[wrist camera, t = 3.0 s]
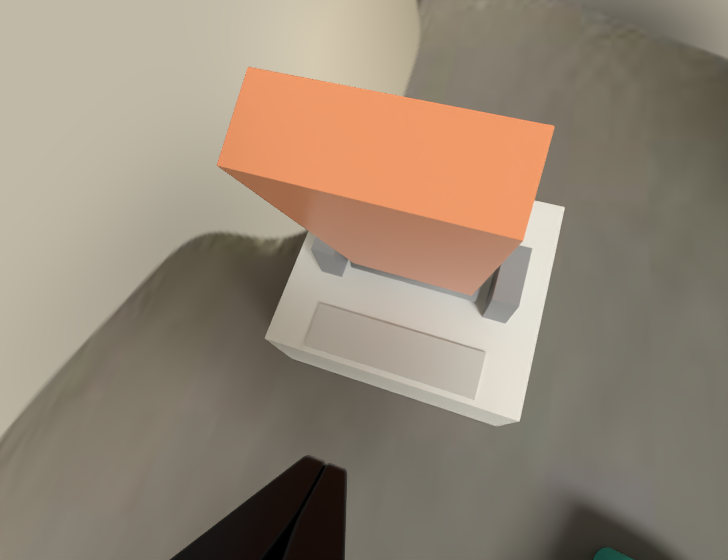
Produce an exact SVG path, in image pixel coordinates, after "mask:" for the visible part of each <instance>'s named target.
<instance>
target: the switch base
mask: <svg viewBox="0 0 728 560" xmlns="http://www.w3.org/2000/svg"><path fill="white" fill-rule="evenodd" d="M564 209H565V207H561V206H556V205H552V204H548V203H543V202H539V201H534V203H533V207H532V211H531V214H530V218H529V221H528V225H527V229H526V232H525V236H524V240H523V242H522V243H521V244H520V245H519V246H518V247H517V248H516V249H515V250H514V251H513V252H512V253H511V254H510V255H509V256H508V257H507V259H506V260H505V261H504V262H503V263H502V264H501V265H500V266H499V267H498V268H497V269H496V270H495V271H494V272H493V273H492V274H491V276H490V277H489V278H488V279H487V280H486V281H485V282H484V283H483V284H482V285H481V287H480V290H479V293H478V296H477V299H476V301H475V302H474V301H470V300H467V299H463V298H459V297H456V296H452V295H449V294H445V293H441V292H438V291H434V290H431V289H427V288H423V287H420V286H416V285H413V284H409V283H406V282H402V281H398V280H395V279H391V278H388V277H384V276H380V275H377V274H373V273H370V272H366V271H362V270H359V269H355V268H352V267H351V263H350V260H348V259H347V258H346V257H344V256H343V255H341V254H340V253H339V252H337V251H336V250H334V249H333V248H332V247H330V246H329V245H327V244H326V243H325V242H323V241H322V240H320V239H319V238H318V237H316V236H315V235H313V234H312V233H311V232H309V231H308V233H307V236H306V238H305V241H304V243H303V246H302V248H301V251H300V253H299V255H298V258H297V260H296V263H295V265H294V268H293V270H292V273H291V275H290V277H289V280H288V282H287V285H286V287H285V290H284V292H283V294H282V297H281V299H280V302H279V304H278V307H277V309H276V312H275V314H274V316H273V319H272V321H271V324H270V326H269V329H268V331H267V333H266V336H265V339H266V340H267V341H269V342H270V343H271V344H273V345H274V346H275V347H277V348H278V349H280V350H281V351H282V352H284V353H285V354H286V355H288V356H289V357H290V358H292V359H294V360H297V361H300V362H303V363H307V364H310V365H313V366H316V367H319V368H322V369H325V370H328V371H331V372H334V373H337V374H340V375H343V376H346V377H349V378H352V379H355V380H358V381H361V382H364V383H367V384H370V385H373V386H376V387H379V388H382V389H385V390H388V391H391V392H394V393H397V394H400V395H403V396H406V397H409V398H412V399H415V400H418V401H421V402H424V403H427V404H430V405H433V406H436V407H440V408H443V409H446V410H449V411H452V412H455V413H458V414H461V415H464V416H467V417H470V418H473V419H476V420H479V421H482V422H485V423H488V424H491V425H494V426H500V425H505V424H509V423H514V422H519V421H520V417H521V412H522V407H523V402H524V398H525V393H526V388H527V384H528V379H529V374H530V369H531V365H532V360H533V355H534V350H535V346H536V341H537V336H538V332H539V327H540V322H541V317H542V313H543V308H544V303H545V298H546V294H547V289H548V284H549V279H550V275H551V270H552V265H553V261H554V256H555V251H556V246H557V242H558V237H559V232H560V227H561V223H562V218H563V213H564Z"/></svg>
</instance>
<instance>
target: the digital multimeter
mask: <svg viewBox="0 0 728 560" xmlns="http://www.w3.org/2000/svg"><path fill="white" fill-rule="evenodd" d="M593 560H634V559H632V558H630V557H628V556H626V555H624V554H622V553H620V552H618V551H616V550H614V549H612V548H610V547H608V548H601V549H600V550H599V551H598V552H597V553H596V554H595V556H594V558H593Z"/></svg>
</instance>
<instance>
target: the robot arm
mask: <svg viewBox="0 0 728 560" xmlns="http://www.w3.org/2000/svg"><path fill="white" fill-rule="evenodd" d="M346 496H347V471H346V469H344V468H342V467H339V466H337V465H334V464H331V463H328V464H327V465H326V463H325V461H323V460H321V459H318V458H315V457H313V456H309V455H307V456H304V457H303V458H301V459H300V460H299V461H297V462H296V463H295V464H294V465H292V466H291V467H290V468H288V469H287V470H286V471H284V472H283V473H282V474H281V475H279V476H278V477H277V478H275V479H274V480H273V481H271V482H270V483H269V484H268V485H266V486H265V487H264V488H262V489H261V490H260V491H258V492H257V493H256V494H255V495H253V496H252V497H251V498H249V499H248V500H247V501H245V502H244V503H243V504H242V505H240V506H239V507H238V508H236V509H235V510H234V511H232V512H231V513H230V514H229V515H227V516H226V517H225V518H223V519H222V520H221V521H219V522H218V523H217V524H216V525H214V526H213V527H212V528H210V529H209V530H208V531H206V532H205V533H204V534H203V535H201V536H200V537H199V538H197V539H196V540H195V541H193V542H192V543H191V544H189V545H188V546H187V547H186V548H184V549H183V550H182V551H180V552H179V553H178V554H176V555H175V556H174V557H173V558H171V559H170V560H345V531H346Z"/></svg>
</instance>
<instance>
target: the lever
mask: <svg viewBox="0 0 728 560" xmlns="http://www.w3.org/2000/svg"><path fill="white" fill-rule="evenodd" d="M554 127H555V126H552V125H547V124H542V123H537V122H531V121H526V120H521V119H516V118H511V117H506V116H500V115H495V114H490V113H485V112H480V111H474V110H469V109H464V108H459V107H454V106H449V105H443V104H438V103H433V102H428V101H423V100H418V99H412V98H407V97H402V96H397V95H392V94H387V93H381V92H376V91H371V90H366V89H361V88H356V87H350V86H345V85H340V84H334V83H329V82H324V81H319V80H314V79H309V78H304V77H299V76H293V75H288V74H283V73H278V72H272V71H268V70H262V69H257V68H252V67H248V68H247V71H246V74H245V78H244V81H243V84H242V87H241V90H240V94H239V97H238V100H237V103H236V106H235V109H234V112H233V116H232V119H231V122H230V125H229V129H228V132H227V135H226V138H225V141H224V144H223V147H222V151H221V154H220V157H219V160H218V163H217V166H218V167H220V168H221V169H223V170H224V171H225V172H227V173H228V174H229V175H231V176H232V177H234V178H235V179H236V180H238V181H239V182H241V183H242V184H244V185H245V186H247V187H248V188H249V189H251V190H252V191H253V192H255V193H256V194H257V195H259V196H260V197H262V198H263V199H264V200H266V201H267V202H269V203H270V204H271V205H273V206H274V207H276V208H277V209H278V210H280V211H281V212H283V213H284V214H285V215H287V216H288V217H290V218H291V219H293V220H294V221H295V222H297V223H298V224H299V225H301V226H302V227H304V228H305V229H306V230H308V231H309V232H311V233H312V234H313V235H315V236H316V237H318V238H319V239H320V240H322V241H323V242H325V243H326V244H327V245H329V246H330V247H332V248H333V249H334V250H336V251H337V252H339V253H340V254H341V255H343V256H344V257H346V258H347V259H348V260H350V263H351V267H352V268H355V269H359V270H362V271H366V272H370V273H373V274H377V275H380V276H384V277H388V278H391V279H395V280H398V281H402V282H406V283H409V284H413V285H416V286H420V287H423V288H427V289H431V290H434V291H438V292H441V293H445V294H449V295H452V296H456V297H459V298H463V299H467V300H470V301H474V302H475V301H476V299H477V296H478V293H479V290H480V287H481V285H482V284H483V283H484V282H485V281H486V280H487V279H488V278H489V277H490V276H491V274H492V273H493V272H494V271H495V270H496V269H497V268H498V267H499V266H500V265H501V264H502V263H503V262H504V261H505V260H506V259H507V257H508V256H509V255H510V254H511V253H512V252H513V251H514V250H515V249H516V248H517V247H518V246H519V245H520V244H521V243H522V242H523V240H524V236H525V232H526V229H527V225H528V221H529V218H530V214H531V211H532V207H533V203H534V200H535V196H536V192H537V189H538V185H539V182H540V178H541V174H542V171H543V167H544V163H545V160H546V156H547V153H548V149H549V145H550V142H551V138H552V134H553V131H554Z"/></svg>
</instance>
